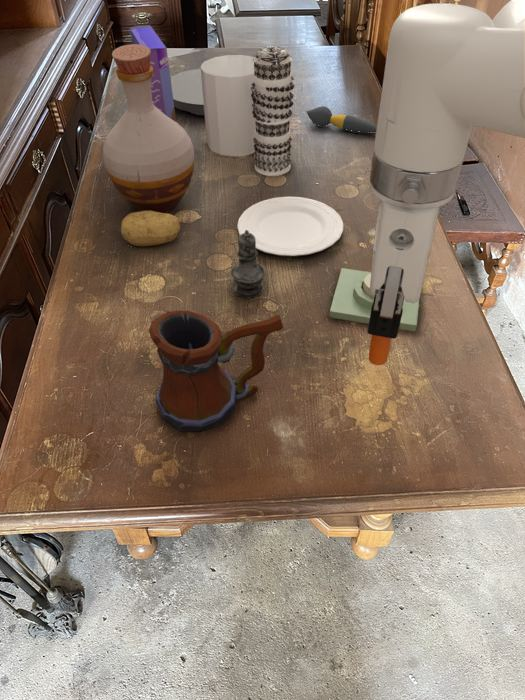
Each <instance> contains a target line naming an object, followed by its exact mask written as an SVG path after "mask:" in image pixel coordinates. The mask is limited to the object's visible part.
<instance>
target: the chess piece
mask: <svg viewBox="0 0 525 700" xmlns="http://www.w3.org/2000/svg"><path fill="white" fill-rule="evenodd" d="M258 256H259V250H257V249H256V240H255V236H254V235H253V234H251V233H249V231H248V230H246V231H245V233H243V234H241V235H239V236H238V250H237V252H236V257H237V258H238V264H236V265H234V267H232V269H231V271H230V275H231V277H232V279H233V281H234V283H235V284H234V286H233V291H234V293H235V294H236V295H237V296H238V297H241V298H244V299H253V298H256V297H259V296H260V295H262V294H263V292H264V289H265V286H264V284H263V280H264V277H265V275H266V269H265V267H264V266H263V265H261V264H260V263H258V262H257V257H258Z"/></svg>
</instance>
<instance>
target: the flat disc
mask: <svg viewBox="0 0 525 700" xmlns="http://www.w3.org/2000/svg"><path fill="white" fill-rule="evenodd" d="M170 78H171V86H172V94H173V101H174V108H176V109H177V110H180V111H185V112H188V113H189V112H190V113H191V114H195V115H197V116H205V113H204V102H203V91H202V80H201V70H200V67H199V68H193V69H189V70H185V71H182V72H179V73H177V74H174V75H172V76H170Z"/></svg>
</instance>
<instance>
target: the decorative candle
mask: <svg viewBox="0 0 525 700" xmlns="http://www.w3.org/2000/svg"><path fill="white" fill-rule="evenodd" d="M252 57H253V58H252V60H253V61H254V73H253V80H254V82H253V83H252V84H251V90H252V94H251V97H252V100H253V104H252V107H253V111H252V113H253V118H254V120H255V125H256V129H255V138H254V139H253V140H254V143H255V144H254V150H255V152H254V153H253V157H254V158H253V163H254V170H255V172H257V173H258V174H260V175H263V176H266V177H277V176H281V175H285V174H287V173H288V172H289V171H290V170H291V169H292V166H291V162H292V159H291V156H292V152H291V148H292V144H291V143H292V138H291V137H292V136H291V129H290V128H291V127H290V126H291V120H292V117H293V111H292V110H291V109H290V108H292V107H293V105H294V102H293V98H294V94H293V93H292V92H291V91H292V90H294V88H295V84H294V83H293V81H294V80H295V78H294V76H293V75H292V60H293V56H292V55H291V54H289V53H288V50H287V49H286V48H284V47H282V46H277V45H267V46H263V47H261V48H259V49H258V51H257V52H256V54H255V55H253V56H252ZM254 88H255V89H254ZM254 94H255V96H254ZM255 105H256V106H255Z"/></svg>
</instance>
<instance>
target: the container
mask: <svg viewBox="0 0 525 700" xmlns="http://www.w3.org/2000/svg"><path fill="white" fill-rule="evenodd" d="M252 58H253V56H250V55H244V54H226V55H220V56H213V57H211V58H209V59H207V60H205V61H204V60H203V62H202V64H201V65H200V67H199V68H200V70H201V80H202V91H203V102H204V113H205V115H204V123H205V134H206V145H207V147H208V148H209V150H210V151H211V152H214V153H216V154H217V155H220V156H227V157H243V156H249V155H252V154H254V152H255V150H254V144H255V143H254V140H253V139H254V138H255V129H256V125H255V120H254V118H253V113H252V111H253V107H252V104H253V100H252V97H251V94H252V90H251V84H252V83H253V82H254V80H253V73H254V61H253V60H252ZM254 89H255V88H254ZM254 96H255V94H254ZM255 106H256V105H255Z"/></svg>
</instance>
